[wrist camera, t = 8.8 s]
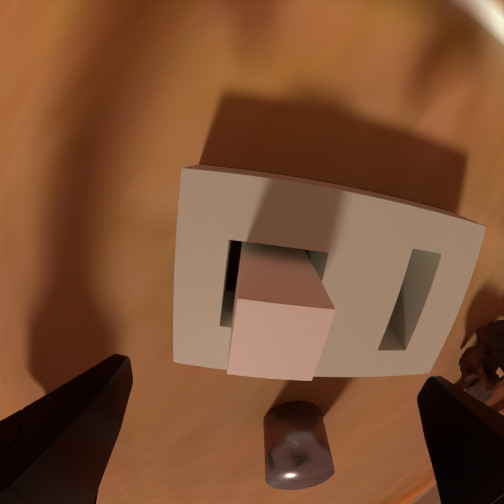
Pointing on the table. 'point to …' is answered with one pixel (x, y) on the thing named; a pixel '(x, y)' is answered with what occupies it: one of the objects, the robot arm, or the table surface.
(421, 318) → the socket block
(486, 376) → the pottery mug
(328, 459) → the round dowel
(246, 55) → the table surface
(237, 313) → the square peg
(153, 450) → the table surface
